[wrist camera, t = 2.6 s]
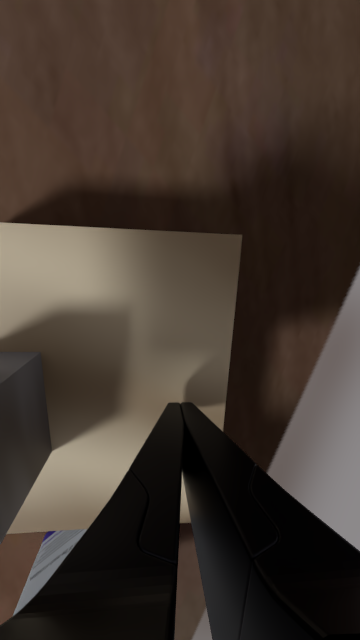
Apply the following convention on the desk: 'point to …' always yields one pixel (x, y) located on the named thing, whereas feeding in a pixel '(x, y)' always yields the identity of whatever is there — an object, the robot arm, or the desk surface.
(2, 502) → the lid
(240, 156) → the desk surface
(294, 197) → the desk surface
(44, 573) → the supplement box
